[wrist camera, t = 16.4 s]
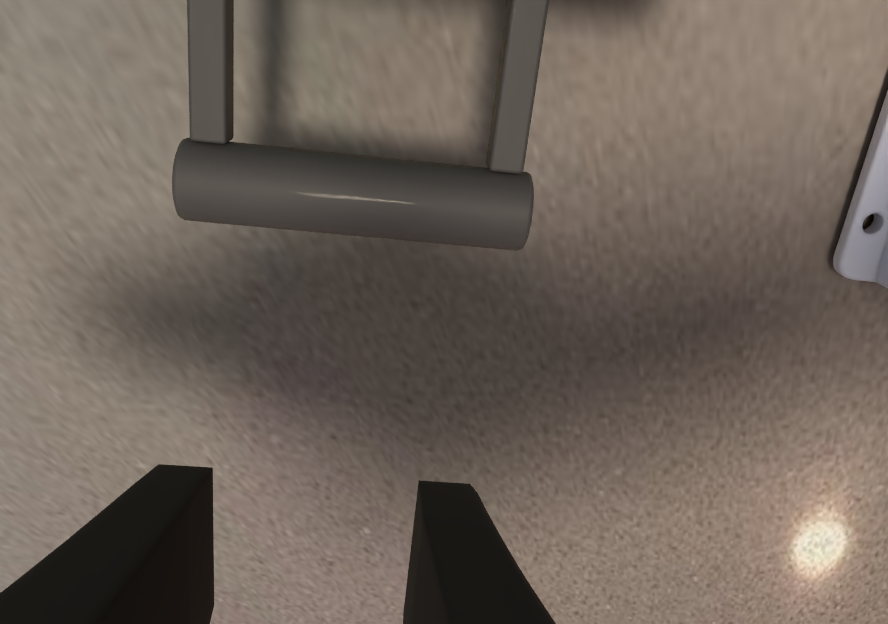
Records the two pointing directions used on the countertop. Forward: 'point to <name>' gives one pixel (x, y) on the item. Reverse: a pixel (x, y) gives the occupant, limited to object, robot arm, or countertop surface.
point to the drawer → (357, 158)
